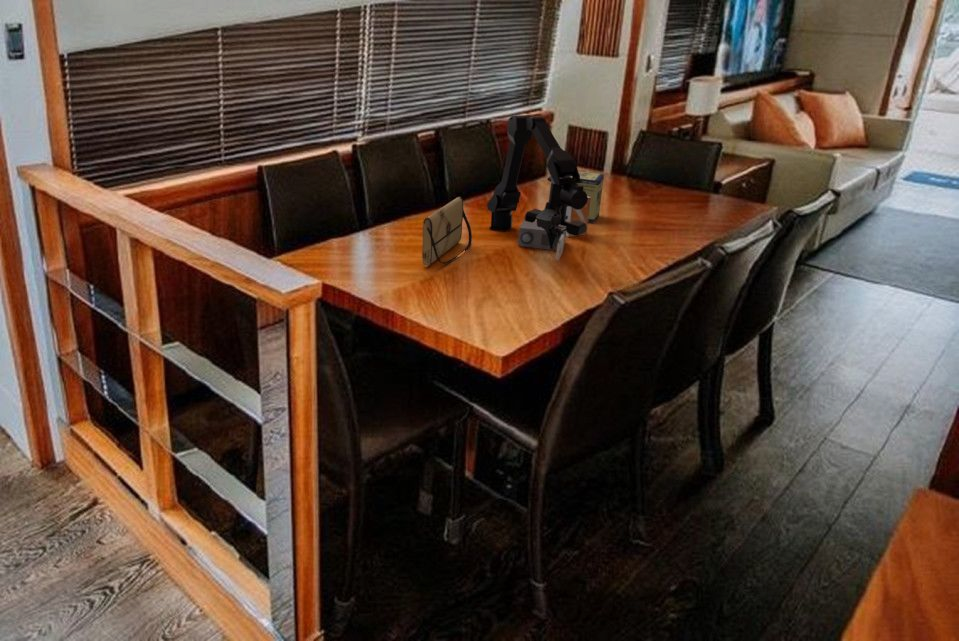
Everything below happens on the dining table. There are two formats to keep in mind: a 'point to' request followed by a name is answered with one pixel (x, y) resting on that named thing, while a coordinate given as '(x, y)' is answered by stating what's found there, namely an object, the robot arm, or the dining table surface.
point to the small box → (578, 215)
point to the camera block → (535, 236)
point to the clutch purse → (443, 231)
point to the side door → (560, 247)
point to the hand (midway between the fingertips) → (551, 248)
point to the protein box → (592, 192)
